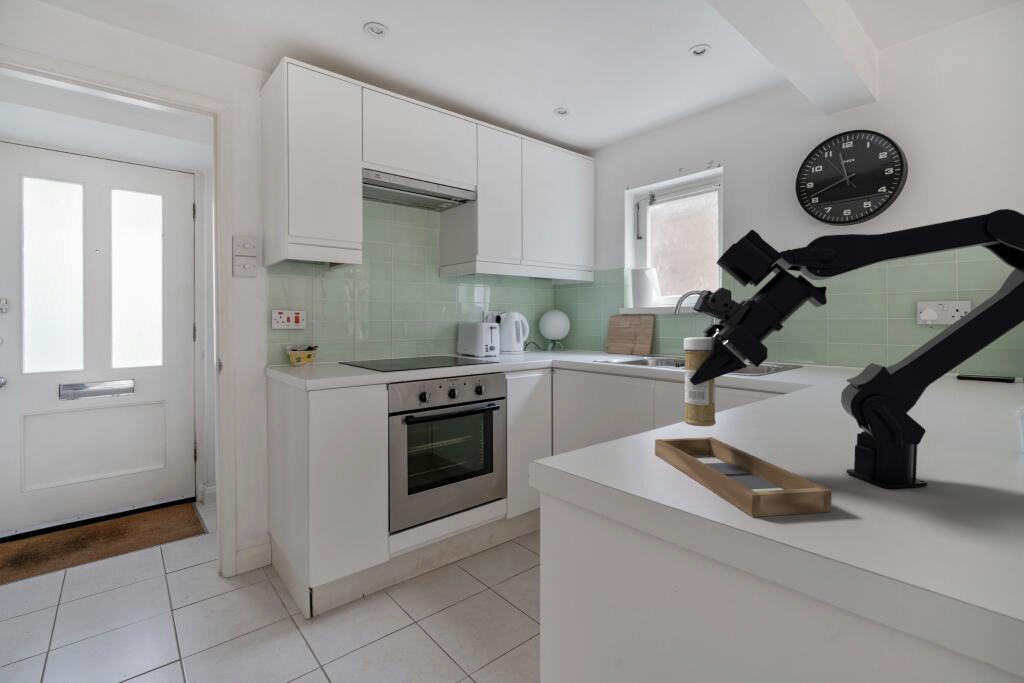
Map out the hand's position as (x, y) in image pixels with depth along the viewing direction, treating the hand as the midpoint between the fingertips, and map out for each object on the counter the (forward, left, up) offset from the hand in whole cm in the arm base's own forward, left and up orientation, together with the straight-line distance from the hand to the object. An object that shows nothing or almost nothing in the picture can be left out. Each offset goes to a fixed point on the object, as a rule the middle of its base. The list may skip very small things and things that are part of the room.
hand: (690, 380), depth 73 cm
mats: (-2, +8, -13) cm, 15 cm away
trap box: (-2, +8, -13) cm, 15 cm away
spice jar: (-1, +1, -7) cm, 7 cm away
